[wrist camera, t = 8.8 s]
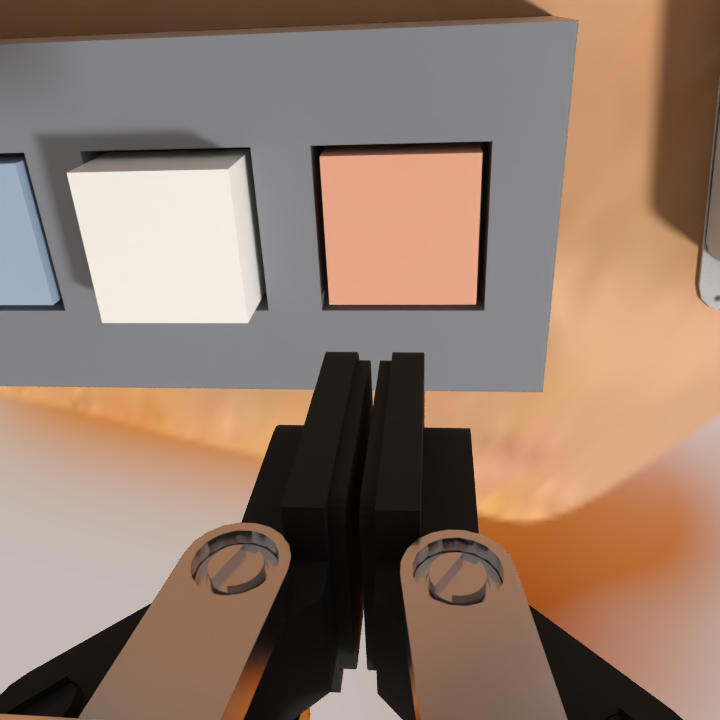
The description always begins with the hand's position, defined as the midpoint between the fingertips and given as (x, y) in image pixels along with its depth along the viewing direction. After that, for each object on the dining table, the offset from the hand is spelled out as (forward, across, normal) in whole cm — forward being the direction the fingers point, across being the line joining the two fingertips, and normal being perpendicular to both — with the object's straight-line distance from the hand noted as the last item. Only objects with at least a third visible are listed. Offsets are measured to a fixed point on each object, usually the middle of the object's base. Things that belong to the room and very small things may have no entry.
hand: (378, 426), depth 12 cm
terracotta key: (+15, 0, +1) cm, 15 cm away
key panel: (+16, +8, 0) cm, 18 cm away
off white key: (+13, +8, 0) cm, 15 cm away
